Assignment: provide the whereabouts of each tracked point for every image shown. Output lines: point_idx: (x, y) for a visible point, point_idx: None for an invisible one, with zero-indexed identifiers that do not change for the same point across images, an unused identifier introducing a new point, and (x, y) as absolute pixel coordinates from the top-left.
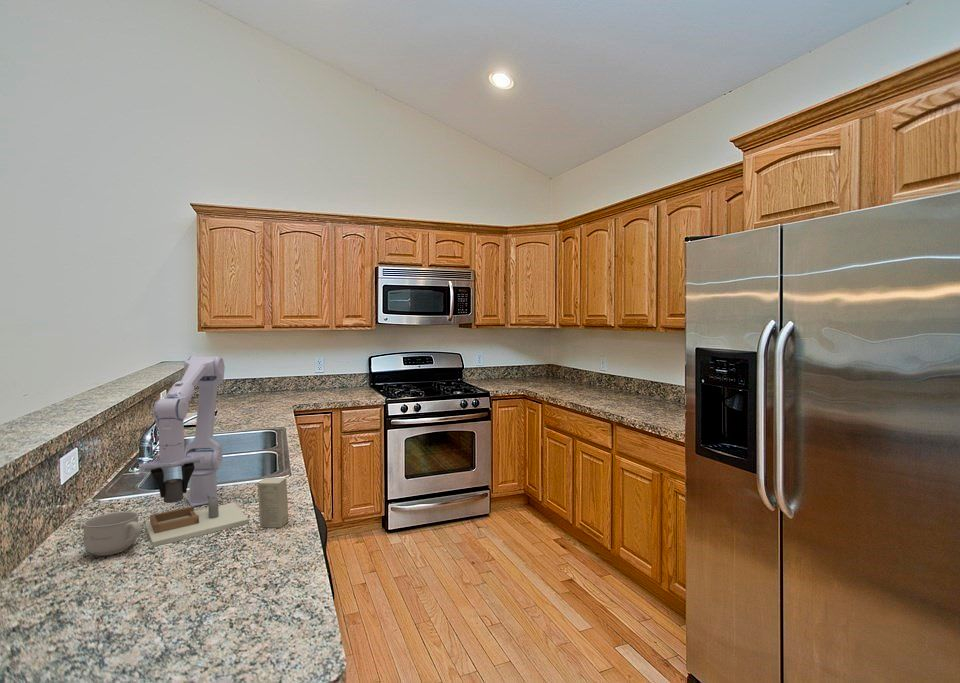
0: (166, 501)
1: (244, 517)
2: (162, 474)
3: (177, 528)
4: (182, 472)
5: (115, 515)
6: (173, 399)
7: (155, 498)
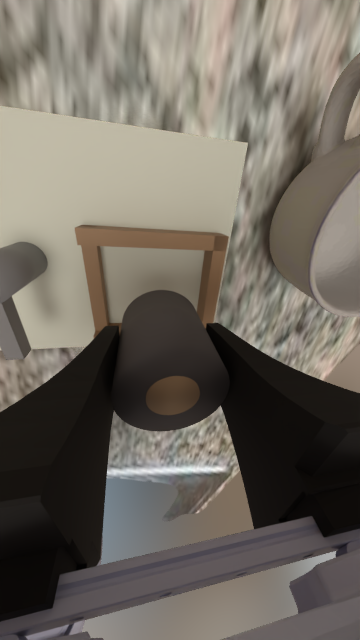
0: (194, 308)
1: None
2: (330, 415)
3: (154, 227)
4: (102, 469)
5: (337, 306)
6: None
7: (159, 452)
